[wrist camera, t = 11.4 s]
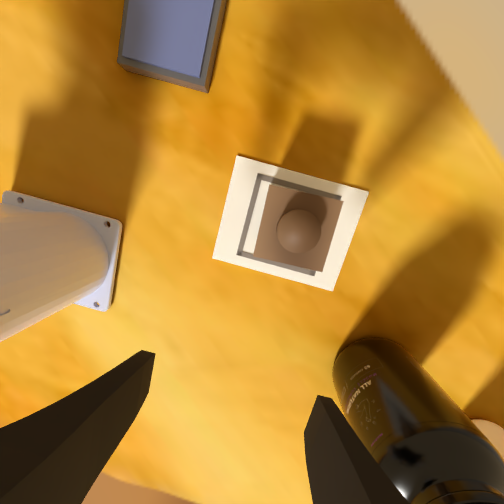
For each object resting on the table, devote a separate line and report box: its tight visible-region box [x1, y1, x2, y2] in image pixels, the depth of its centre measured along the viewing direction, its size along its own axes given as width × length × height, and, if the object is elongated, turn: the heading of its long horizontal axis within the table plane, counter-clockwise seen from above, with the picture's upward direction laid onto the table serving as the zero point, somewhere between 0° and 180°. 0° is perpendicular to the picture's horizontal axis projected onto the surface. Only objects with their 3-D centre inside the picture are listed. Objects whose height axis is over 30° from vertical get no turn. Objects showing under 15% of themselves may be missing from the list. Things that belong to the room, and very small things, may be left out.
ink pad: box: [117, 0, 227, 93], centre depth 15 cm, size 6×6×1 cm
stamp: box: [253, 184, 344, 272], centre depth 15 cm, size 4×4×6 cm
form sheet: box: [212, 156, 369, 291], centre depth 18 cm, size 10×8×1 cm
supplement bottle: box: [333, 338, 504, 504], centre depth 15 cm, size 7×7×12 cm
